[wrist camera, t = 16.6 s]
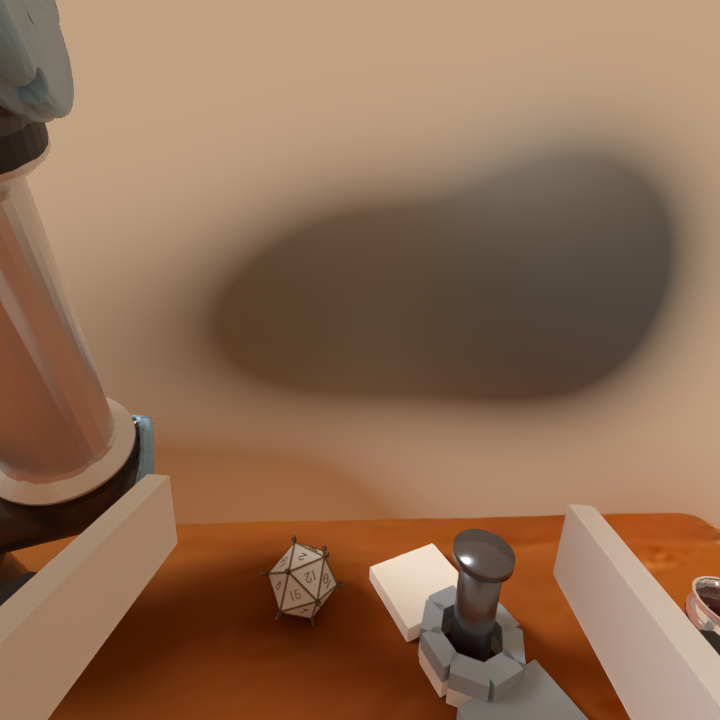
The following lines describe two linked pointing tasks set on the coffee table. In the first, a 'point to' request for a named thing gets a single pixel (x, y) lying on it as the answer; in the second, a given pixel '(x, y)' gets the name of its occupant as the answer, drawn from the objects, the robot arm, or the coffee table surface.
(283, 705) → the coffee table surface
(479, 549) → the pin
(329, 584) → the game die
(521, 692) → the hinge leaf
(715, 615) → the wineglass
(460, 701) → the hinge leaf
